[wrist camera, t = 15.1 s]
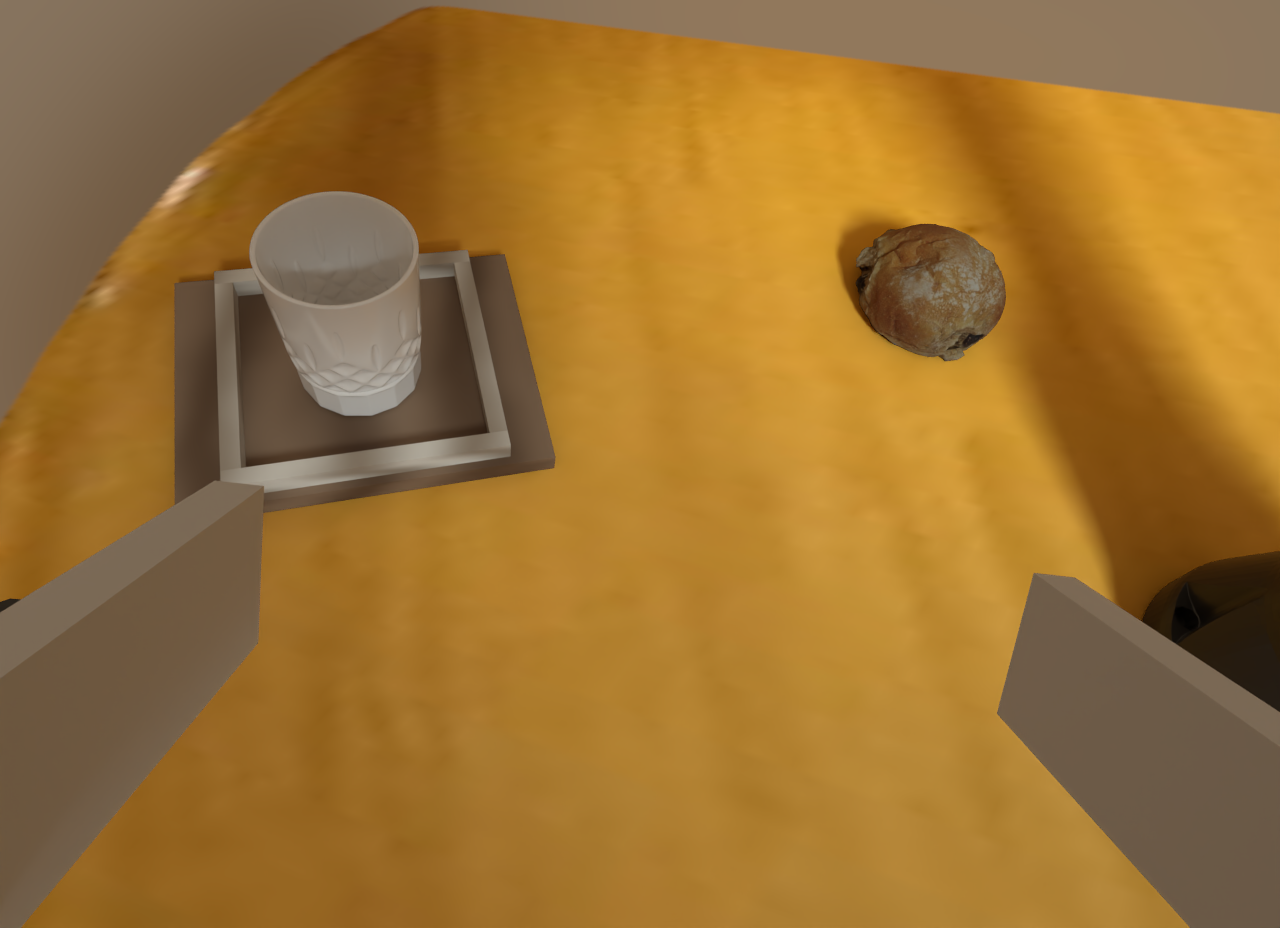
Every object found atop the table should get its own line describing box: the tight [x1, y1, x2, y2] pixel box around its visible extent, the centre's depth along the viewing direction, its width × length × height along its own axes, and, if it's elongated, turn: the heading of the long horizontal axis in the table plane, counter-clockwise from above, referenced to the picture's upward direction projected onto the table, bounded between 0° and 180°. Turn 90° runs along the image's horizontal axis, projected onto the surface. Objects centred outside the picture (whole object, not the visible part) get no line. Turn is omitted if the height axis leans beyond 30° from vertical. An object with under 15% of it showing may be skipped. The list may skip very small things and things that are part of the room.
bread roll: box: [856, 224, 1006, 361], centre depth 59 cm, size 10×10×8 cm
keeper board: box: [175, 250, 555, 513], centre depth 50 cm, size 20×16×2 cm
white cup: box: [249, 191, 421, 416], centre depth 46 cm, size 8×8×10 cm
